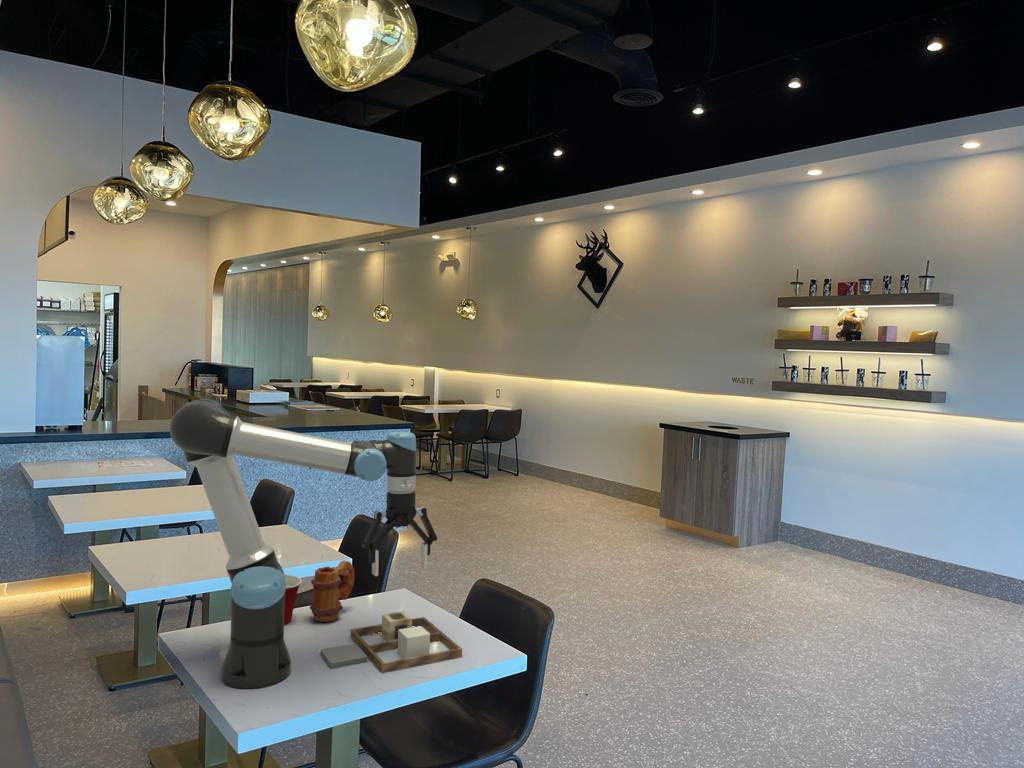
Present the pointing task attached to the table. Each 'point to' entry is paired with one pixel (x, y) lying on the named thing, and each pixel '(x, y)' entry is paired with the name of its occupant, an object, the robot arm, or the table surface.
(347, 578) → the mug
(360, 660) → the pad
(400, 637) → the blank block
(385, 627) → the letter cube
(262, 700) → the table surface
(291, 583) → the plastic cup
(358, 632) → the box
